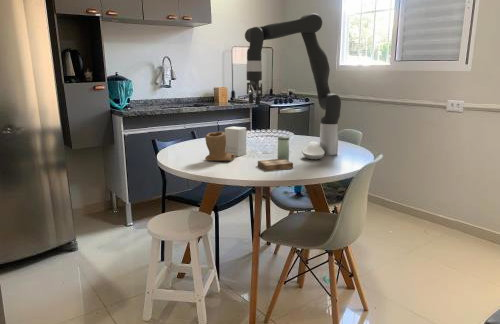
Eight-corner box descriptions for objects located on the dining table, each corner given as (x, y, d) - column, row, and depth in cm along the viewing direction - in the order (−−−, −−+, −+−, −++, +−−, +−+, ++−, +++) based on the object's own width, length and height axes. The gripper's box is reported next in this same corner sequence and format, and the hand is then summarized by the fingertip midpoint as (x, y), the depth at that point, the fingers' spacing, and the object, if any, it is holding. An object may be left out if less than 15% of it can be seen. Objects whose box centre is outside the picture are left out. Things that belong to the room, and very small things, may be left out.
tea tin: (285, 158, 200) (286, 135, 197) (290, 160, 195) (291, 137, 192) (275, 159, 198) (275, 136, 195) (280, 161, 193) (281, 138, 190)
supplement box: (247, 153, 211) (247, 127, 208) (238, 156, 204) (238, 129, 200) (233, 152, 216) (233, 125, 212) (224, 154, 208) (224, 128, 205)
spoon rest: (324, 161, 195) (325, 148, 193) (301, 160, 196) (302, 147, 195) (322, 152, 217) (323, 139, 216) (302, 151, 219) (302, 139, 217)
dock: (283, 163, 190) (283, 158, 189) (292, 167, 181) (293, 162, 181) (257, 165, 185) (257, 160, 184) (266, 170, 176) (266, 165, 175)
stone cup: (202, 163, 190) (201, 133, 186) (207, 157, 201) (207, 129, 198) (232, 164, 188) (232, 134, 185) (236, 158, 200) (235, 130, 196)
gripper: (267, 70, 179) (267, 105, 183) (255, 70, 192) (255, 102, 195) (252, 70, 176) (252, 105, 180) (241, 70, 189) (242, 103, 193)
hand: (254, 104), depth 188 cm, fingers open, 8 cm apart
